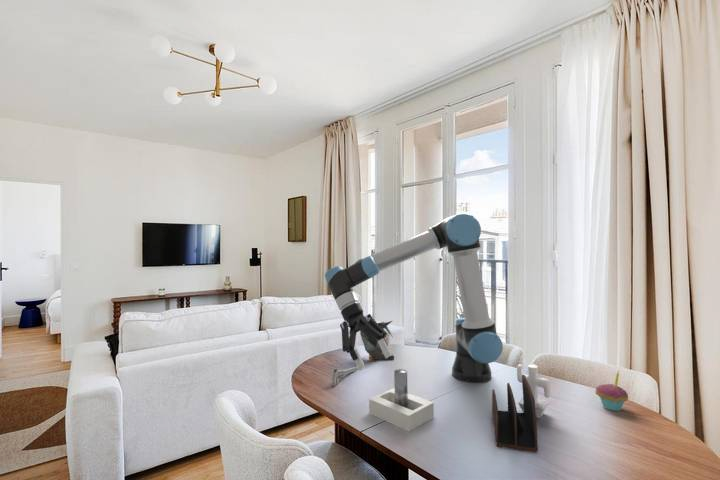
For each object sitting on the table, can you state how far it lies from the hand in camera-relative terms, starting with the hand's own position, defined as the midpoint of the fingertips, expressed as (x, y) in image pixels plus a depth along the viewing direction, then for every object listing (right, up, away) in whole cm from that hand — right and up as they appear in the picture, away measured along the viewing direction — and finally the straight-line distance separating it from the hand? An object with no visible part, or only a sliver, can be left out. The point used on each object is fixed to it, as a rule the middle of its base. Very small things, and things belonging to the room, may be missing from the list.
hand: (376, 362), depth 122 cm
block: (+7, -13, -10) cm, 18 cm away
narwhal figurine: (+3, -14, +45) cm, 48 cm away
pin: (+7, -11, -10) cm, 17 cm away
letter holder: (+38, -13, -20) cm, 45 cm away
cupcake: (+75, -12, -7) cm, 77 cm away
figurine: (+49, -13, -10) cm, 51 cm away
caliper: (-11, -14, +23) cm, 29 cm away
